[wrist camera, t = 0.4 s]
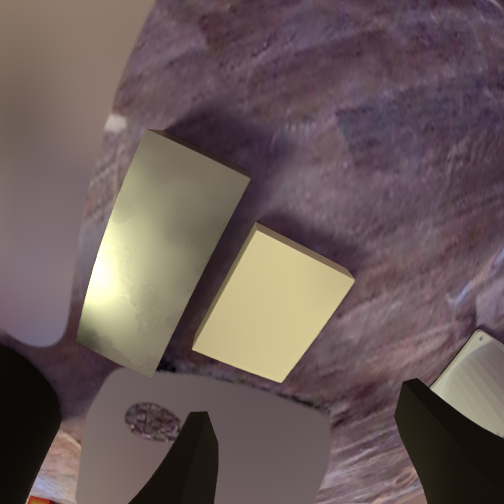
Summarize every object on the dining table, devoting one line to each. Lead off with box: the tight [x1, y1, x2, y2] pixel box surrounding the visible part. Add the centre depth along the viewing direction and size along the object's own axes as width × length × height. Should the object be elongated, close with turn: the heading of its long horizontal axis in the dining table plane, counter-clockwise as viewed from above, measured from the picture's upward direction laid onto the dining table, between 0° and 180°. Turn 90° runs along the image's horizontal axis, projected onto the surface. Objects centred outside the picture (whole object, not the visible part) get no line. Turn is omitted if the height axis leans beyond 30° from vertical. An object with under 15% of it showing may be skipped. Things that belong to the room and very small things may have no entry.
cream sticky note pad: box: [192, 222, 355, 383], centre depth 18 cm, size 6×8×2 cm
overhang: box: [75, 129, 251, 378], centre depth 16 cm, size 5×12×3 cm, turn 152°
